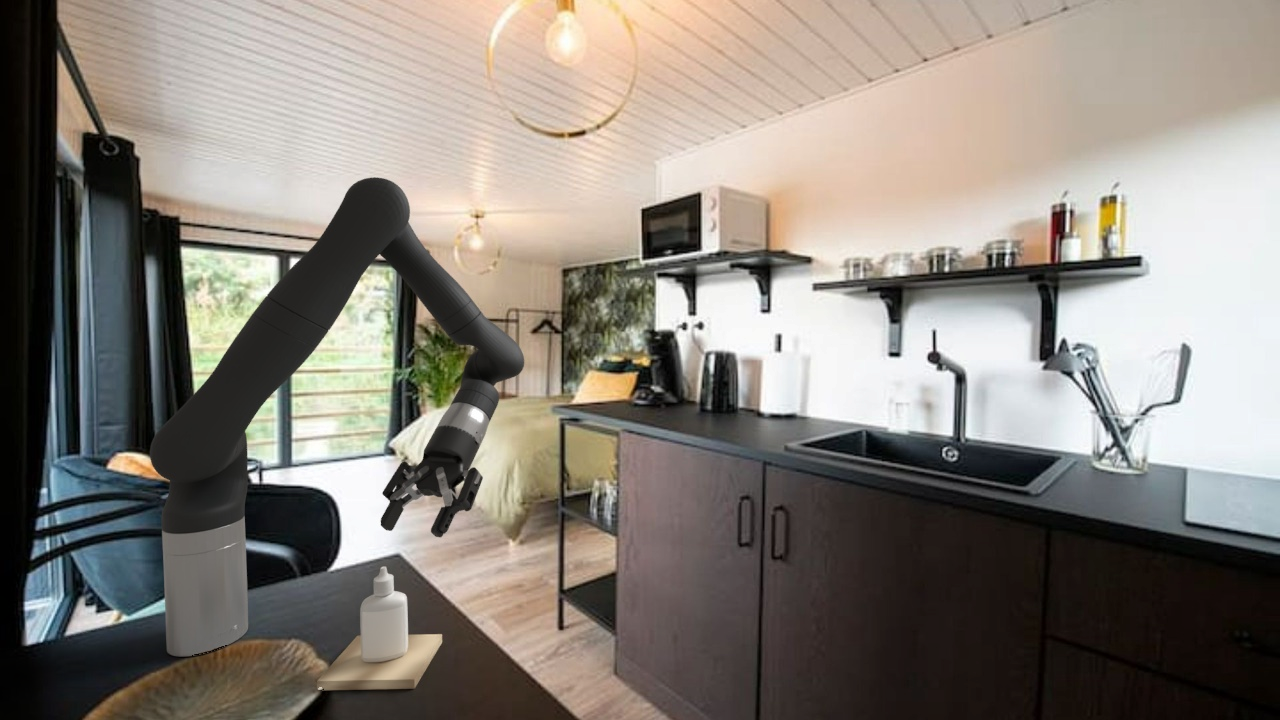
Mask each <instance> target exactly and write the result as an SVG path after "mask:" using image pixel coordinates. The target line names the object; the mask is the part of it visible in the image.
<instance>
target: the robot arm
mask: <svg viewBox="0 0 1280 720" xmlns="http://www.w3.org/2000/svg"><path fill="white" fill-rule="evenodd" d="M410 207H411V206H410V202H409V200H408V197H407V195H406V193H405V192H404V190H403V189H402V188H401V187H400V186H399V185H398V184H397V183H396V182H394V181H392V180H390V179H387V178H385V177H384V178H382V177H367V178H364V179H363V178H362V179H360V180H357V181H356V182H355V183H353V184H352V185H351V186H350V187H349V188H348V189H347V191H346V193H345V195H344V197H343V199H342V201H341V203H340V205H339V207H338V209H337V210H336V212H335V213H334V215H333V217H332V219H331V220H330V222H329V223H328V225H327V227H326V228H325V230H324V231H323V233H322V234H321V236H319V238H318V240H317V241H316V242H315V243H314V245H313V246H311V248H309V250H308V251H307V252H306V253H305V254H304V255H303V256H302V257H301V258H299V260H297V262H296V263H295V264H293V266H292V267H291V268H289V270H288V271H287V272H286V273H285V274H284V275H283V276H282V278H280V279H279V281H278V282H277V283H276V284H275V285H274V286H273V287H272V289H271V290H270V291H268V293H267V296H264V298H263V299H262V301H260V303H259V304H258V306H257V307H256V309H255V310H254V311H253V313H251V315H250V316H249V318H248V320H247V321H246V322H245V324H244V326H243V327H242V328H241V329H240V331H239V332H238V334H237V335H236V336H235V337H234V340H232V342H231V344H230V345H229V347H228V348H227V350H226V351H225V353H224V355H222V358H221V359H220V361H218V364H217V365H216V367H215V368H214V370H213V371H212V373H211V374H210V376H209V377H208V378H207V379H206V380H205V381H204V383H203V384H202V385H201V386H200V387H199V388H198V389H197V390H196V391H195V393H194V394H192V395H191V397H190V398H189V399H188V400H187V401H186V402H184V404H183V405H182V406H181V407H180V408H179V409H178V410H177V411H176V412H175V413H174V414H173V415H172V417H170V418H169V420H167V421H166V422H165V423H164V424H163V425H162V427H160V428H159V429H158V430H157V432H156V433H155V435H154V437H153V438H152V441H151V444H150V450H149V459H150V462H151V465H152V467H153V469H154V470H155V472H156V473H157V474H158V475H160V477H162V478H164V479H166V480H168V481H169V489H168V493H167V498H166V501H165V503H164V506H163V508H162V509H161V521H160V523H161V538H162V541H161V542H162V543H161V544H162V556H163V557H162V558H163V559H162V563H163V564H162V565H163V583H164V584H163V585H164V613H165V637H166V639H165V640H166V642H165V643H166V652H167V654H168V655H171V656H173V657H180V658H181V657H192V655H193V656H195V655H194V654H198V653H201V652H205V651H207V650H212V649H214V648H218V647H221V646H224V647H226V646H225V645H227V646H228V645H230V644H232V643H234V642H236V641H238V640H239V639H240V638H242V637H243V636H244V635H245V634H246V633H247V631H249V630H248V629H249V609H248V608H249V607H248V605H249V604H248V601H249V600H248V576H247V575H248V572H247V568H248V567H247V548H246V547H247V545H246V540H247V539H246V522H245V521H246V520H245V519H246V517H245V516H246V515H245V514H246V513H245V507H246V505H245V504H246V498H247V494H248V486H249V485H248V484H249V483H248V481H249V479H248V440H247V433H246V430H247V429H248V427H249V426H250V424H251V422H253V419H254V418H255V416H256V415H257V413H258V412H259V410H260V409H261V408H262V407H263V405H264V404H265V403H266V401H267V400H268V399H269V398H271V396H272V395H273V394H274V393H275V392H276V391H277V390H278V389H279V388H280V387H281V386H282V385H283V384H285V382H286V381H288V379H289V378H290V377H292V375H294V373H296V372H297V371H298V369H299V368H300V367H301V366H302V365H303V364H304V363H305V362H306V360H308V358H309V357H311V355H312V353H313V352H314V351H315V350H316V349H317V348H318V347H319V345H320V343H321V342H322V340H324V338H325V337H326V336H327V334H328V333H329V331H330V330H331V329H332V327H333V326H334V324H335V322H336V321H337V319H338V318H339V317H340V315H341V313H342V311H343V310H344V308H345V307H346V305H347V303H348V301H349V300H350V298H351V296H352V294H353V292H354V291H355V289H356V288H357V285H358V284H359V282H360V280H361V278H362V277H363V275H364V274H365V272H366V271H367V269H368V268H369V267H370V265H372V263H373V262H374V261H375V260H376V259H377V258H378V257H379V255H380V256H381V257H382V258H383V259H384V260H385V261H386V263H388V264H389V265H390V266H391V267H392V268H393V269H394V270H395V272H396V273H397V274H398V275H399V276H400V277H401V278H402V279H403V281H404V282H405V283H406V285H408V287H409V288H410V289H411V290H412V292H413V293H414V295H415V296H416V297H417V298H418V299H419V301H420V302H421V303H422V305H423V306H424V307H425V308H426V310H427V311H428V312H429V313H430V315H431V316H432V317H433V318H434V320H435V321H436V322H437V323H438V325H439V326H440V327H441V328H442V330H443V331H444V332H445V334H446V335H447V336H448V337H449V338H450V339H451V340H452V342H453V343H455V344H456V345H458V346H471V347H474V348H475V349H476V350H475V351H473V353H471V354H470V356H469V357H468V359H467V360H466V363H465V365H464V368H463V371H462V376H461V381H460V387H459V389H458V390H457V392H456V394H455V396H454V398H453V400H452V402H451V403H450V405H449V407H448V409H447V410H446V411H445V412H444V413H443V415H442V417H441V418H440V420H439V422H438V424H437V425H436V428H435V429H434V431H433V433H432V435H431V436H430V438H429V440H428V441H427V444H426V446H425V448H424V449H423V453H422V454H423V455H422V460H421V461H420V462H419V463H418V464H417V465H412V464H411V465H410V464H409V463H408V462H407V461H406V460H405V461H402V462H401V463H399V466H398V467H397V468H396V471H394V473H393V475H392V476H391V478H390V479H389V481H388V483H387V484H386V486H385V487H384V489H383V491H382V493H381V494H382V495H383V496H384V497H385V499H387V500H388V501H389V503H388V506H386V509H385V510H384V513H383V514H382V516H381V517H380V521H379V522H380V526H381V527H382V528H383V529H384V530H386V531H390V532H392V531H393V530H394V529H395V527H396V524H397V523H398V521H399V519H400V517H401V515H402V513H403V512H404V510H405V509H404V508H405V507H406V506H407V505H408V504H410V503H411V502H412V501H417V500H419V499H420V498H421V497H423V496H427V497H431V496H435V497H437V498H442V500H443V504H444V506H441V508H440V509H439V511H438V513H437V516H435V517H436V518H435V519H434V522H433V524H432V526H431V528H430V533H431V534H432V535H433V536H434V537H435V538H442V537H443V536H444V535H445V534H446V533H447V532H448V531H449V528H450V526H451V524H452V522H453V520H454V518H455V516H456V515H457V514H458V513H459V512H462V511H465V512H469V511H470V510H471V509H473V506H474V503H475V501H476V498H477V495H478V492H479V490H480V487H481V485H482V482H483V479H484V477H483V475H482V474H481V473H480V471H479V470H478V468H476V467H471V466H472V465H473V462H474V460H475V458H476V456H477V453H478V451H479V449H480V447H481V445H482V443H483V441H484V439H485V436H486V434H487V430H488V427H489V424H490V422H491V421H492V418H493V415H494V414H495V412H496V410H497V407H498V404H499V402H500V394H499V391H498V389H497V388H496V387H495V385H497V384H498V383H500V382H502V381H506V380H509V379H512V378H515V377H517V376H519V375H520V373H522V371H523V370H524V367H525V356H524V353H523V351H522V348H521V347H520V345H518V343H517V342H516V340H514V338H512V337H511V336H510V335H509V334H508V333H506V332H505V331H504V330H502V329H501V328H500V327H499V326H497V325H496V324H495V323H494V322H492V321H491V320H490V319H489V318H488V317H486V316H485V315H484V313H483V312H482V311H481V309H480V308H479V307H478V305H477V304H476V302H475V301H474V300H473V299H472V297H471V296H470V295H469V294H468V293H467V291H466V290H465V289H464V288H463V287H462V286H461V285H460V283H459V282H458V281H456V279H455V278H454V277H453V276H452V275H450V273H449V272H448V271H447V270H446V269H445V268H444V267H443V266H442V265H441V264H440V263H439V262H438V261H437V260H436V259H435V257H434V256H433V255H431V254H430V252H429V251H428V250H427V248H425V246H424V245H423V243H422V242H421V241H420V239H419V238H418V235H416V232H415V230H414V229H413V227H412V226H411V224H410V222H409V220H410V217H411V216H410V214H411V208H410ZM461 483H463V484H462V487H461V489H460V492H459V494H458V492H457V488H456V487H458V486H459V485H460V484H461ZM414 486H415V487H416V489H414V488H413V487H414Z"/></svg>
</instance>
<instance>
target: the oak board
mask: <svg viewBox="0 0 1280 720" xmlns="http://www.w3.org/2000/svg"><path fill="white" fill-rule="evenodd" d="M442 643H443V634H442V633H437V634H436V633H435V634H430V633H429V634H428V633H426V634H408V648H407V652H406V653H405V655H403V656H401V657H399V658H396V659H392V660H389V661H384V662H364V661H362V659H361V634H360V635H357V636H355V638H354V639H353V640H352V641H351V642H350V644H349V645H348V646H347V647H346V648H345V649H344V650H343V651H342V653H340V655H339V656H337V658H336V659H335V660H334V661H333V663H332V664H330V666H329V667H327V669H326V670H325V671H324V672H323V674H322V675H321V676H320V677H319V678H318V679H317V681H316V689H317V688H319V687H322V688H324V690H323V691H353V690H354V691H355V690H363V691H365V690H408V689H410V690H411V689H413V690H414V689H416V687H417V686H418V683H419V682H420V680H421V678H422V677H423V675H424V674H425V672H426V670H427V668H428V667H429V665H430V663H431V661H432V660H433V659H434V657H435V655H436V654H437V652H438V651H439V649H440V646H442Z"/></svg>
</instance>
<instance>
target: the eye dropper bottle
mask: <svg viewBox="0 0 1280 720" xmlns="http://www.w3.org/2000/svg"><path fill="white" fill-rule="evenodd" d="M379 568H380V569H379V574H378V575H377V576H375V577H374V578H373V594H371V595H370V596H368V597H366V598H365V599H363V601H362V603H361V605H360V609H359V613H360V614H359V617H360V618H359V620H360V621H359V623H360V625H359V626H360V635H361V659H362V661H364V662H384V661H389V660H392V659H396V658H399V657H401V656H403V655H405V653H406V652H407V648H408V635H409V621H408V620H409V619H408V618H409V616H408V610H409V609H408V597H407V594H405V593H404V592H401V591H397V590H395V582H394V577H395V576H394V574H391V573H388V569H387V566H381V567H379Z"/></svg>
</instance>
